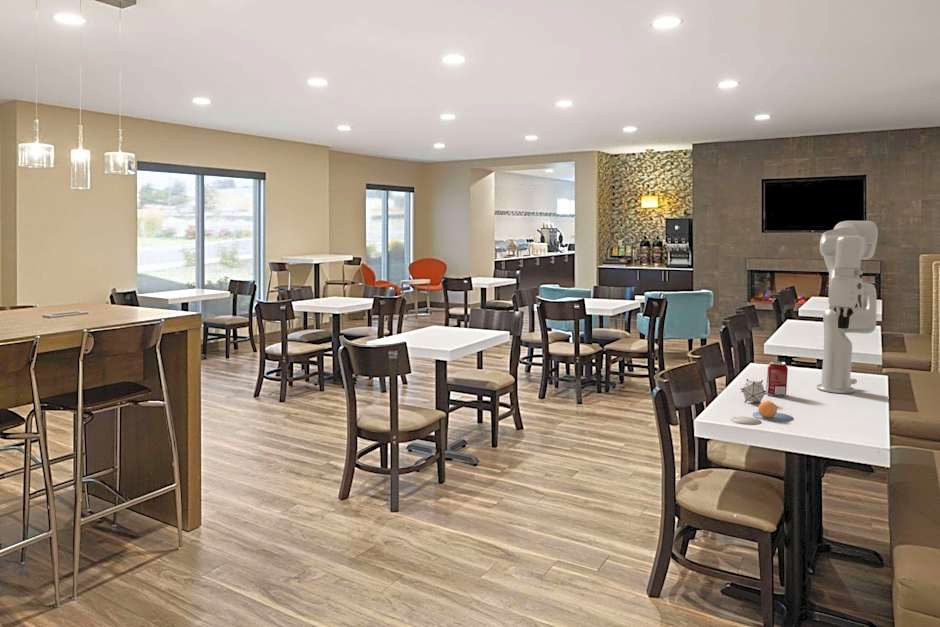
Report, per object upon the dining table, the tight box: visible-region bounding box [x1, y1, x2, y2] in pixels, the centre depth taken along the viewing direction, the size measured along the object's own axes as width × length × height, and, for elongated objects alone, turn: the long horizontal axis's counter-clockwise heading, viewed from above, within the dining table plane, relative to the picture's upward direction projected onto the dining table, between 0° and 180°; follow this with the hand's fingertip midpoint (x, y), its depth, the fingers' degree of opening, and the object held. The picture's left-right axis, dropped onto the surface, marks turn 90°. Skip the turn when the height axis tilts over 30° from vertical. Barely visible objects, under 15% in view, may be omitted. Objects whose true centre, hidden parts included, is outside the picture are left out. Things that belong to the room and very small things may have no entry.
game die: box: [740, 378, 768, 405], centre depth 249 cm, size 9×8×10 cm
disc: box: [752, 411, 794, 423], centre depth 230 cm, size 12×12×1 cm
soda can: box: [765, 360, 789, 397], centre depth 261 cm, size 7×7×12 cm
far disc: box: [730, 416, 762, 426], centre depth 225 cm, size 9×9×1 cm
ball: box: [757, 400, 778, 418], centre depth 228 cm, size 6×6×6 cm
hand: (843, 328), depth 241 cm, fingers closed
